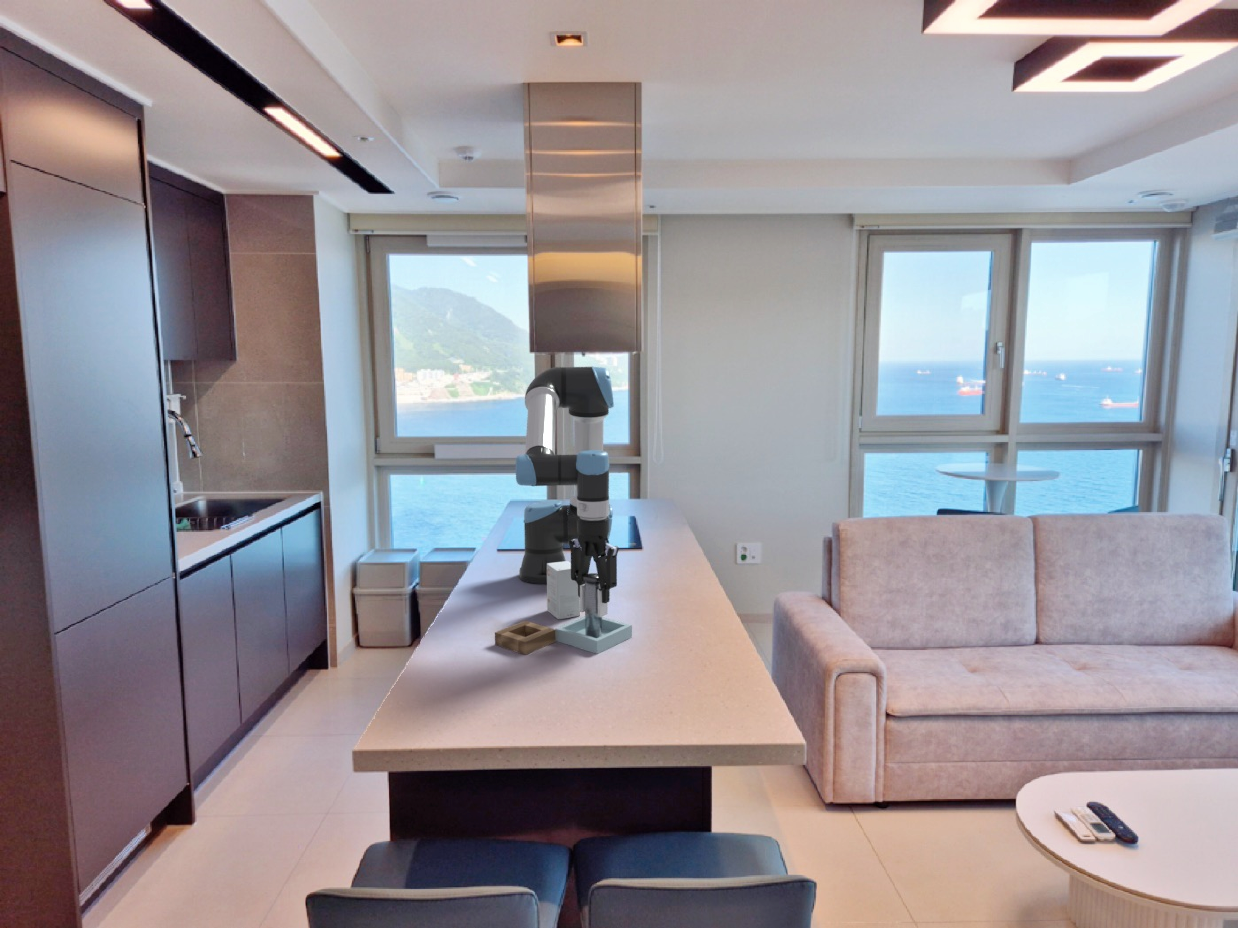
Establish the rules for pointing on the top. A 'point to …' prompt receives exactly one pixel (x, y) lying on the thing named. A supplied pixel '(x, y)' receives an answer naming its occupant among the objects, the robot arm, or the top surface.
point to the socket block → (525, 637)
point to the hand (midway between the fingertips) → (593, 612)
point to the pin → (592, 606)
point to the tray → (576, 637)
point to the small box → (562, 591)
